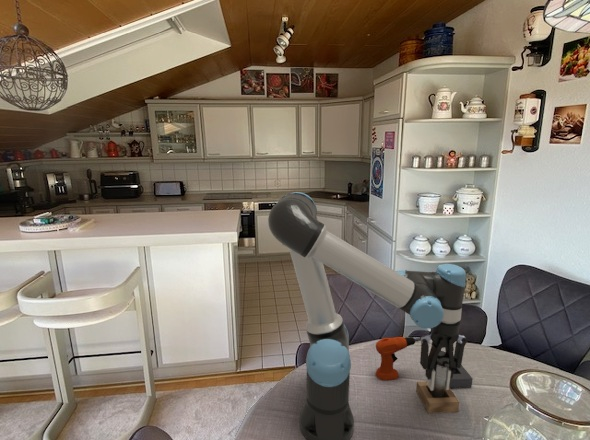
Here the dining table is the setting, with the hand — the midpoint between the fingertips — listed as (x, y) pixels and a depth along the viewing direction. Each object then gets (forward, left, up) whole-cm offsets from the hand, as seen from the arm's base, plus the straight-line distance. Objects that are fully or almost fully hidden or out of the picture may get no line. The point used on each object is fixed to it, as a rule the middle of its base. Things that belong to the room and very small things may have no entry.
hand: (437, 386), depth 103 cm
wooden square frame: (0, 0, -5) cm, 5 cm away
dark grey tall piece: (0, 0, -4) cm, 4 cm away
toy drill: (-7, +12, -5) cm, 15 cm away
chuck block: (+9, +10, -5) cm, 14 cm away
